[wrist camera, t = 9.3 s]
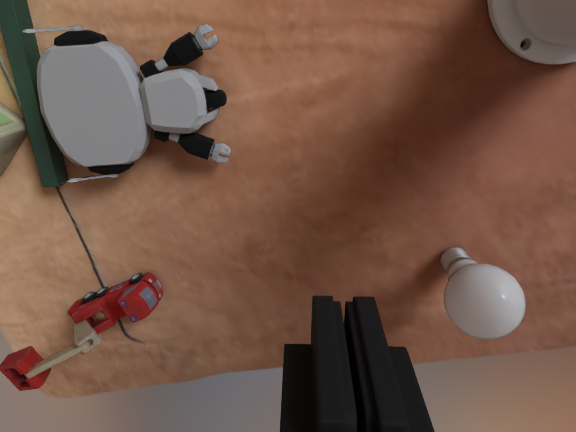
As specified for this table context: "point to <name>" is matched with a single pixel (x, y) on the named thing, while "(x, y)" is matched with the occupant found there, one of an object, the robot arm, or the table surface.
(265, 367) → the table surface
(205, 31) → the robot toy
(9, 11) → the rail
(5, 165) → the toy refrigerator
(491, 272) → the lightbulb
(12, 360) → the toy fire truck
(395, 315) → the table surface
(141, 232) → the table surface
